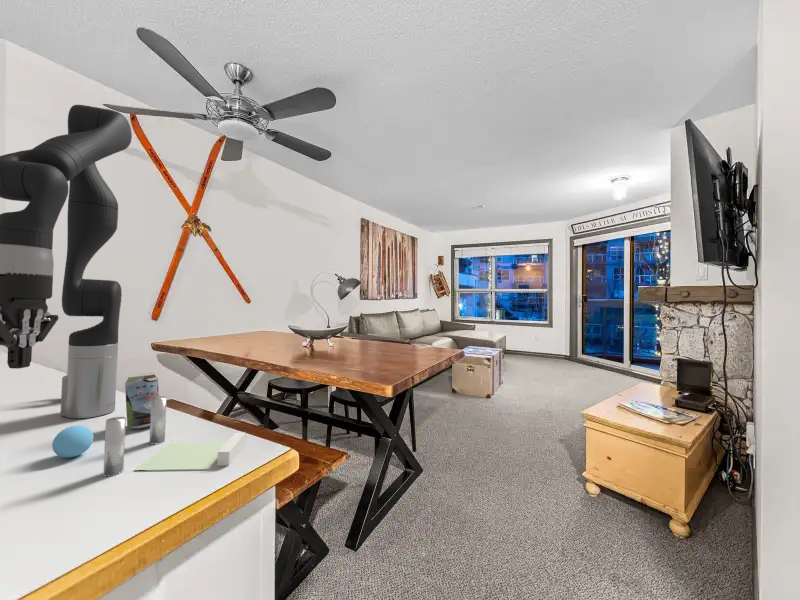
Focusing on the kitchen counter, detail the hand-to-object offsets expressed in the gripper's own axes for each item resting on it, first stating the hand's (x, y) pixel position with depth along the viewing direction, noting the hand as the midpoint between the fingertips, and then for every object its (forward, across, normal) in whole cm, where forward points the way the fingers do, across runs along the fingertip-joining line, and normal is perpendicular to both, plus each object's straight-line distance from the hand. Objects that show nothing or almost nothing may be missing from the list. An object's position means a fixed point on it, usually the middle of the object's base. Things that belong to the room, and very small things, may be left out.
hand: (19, 367), depth 62 cm
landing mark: (+16, 0, +29) cm, 34 cm away
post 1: (+16, +6, +20) cm, 27 cm away
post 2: (+16, -6, +20) cm, 27 cm away
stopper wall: (+16, 0, +37) cm, 41 cm away
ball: (+13, 0, +9) cm, 16 cm away
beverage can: (+16, -15, +12) cm, 26 cm away
